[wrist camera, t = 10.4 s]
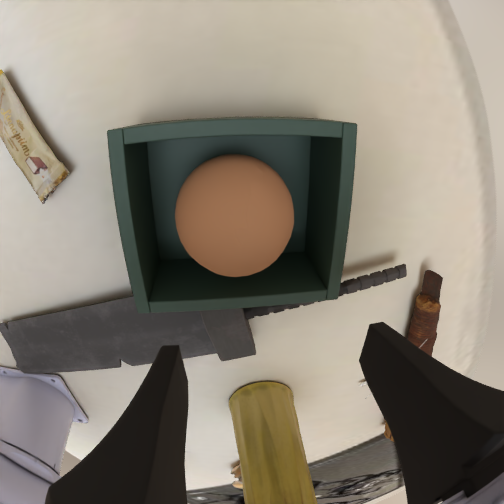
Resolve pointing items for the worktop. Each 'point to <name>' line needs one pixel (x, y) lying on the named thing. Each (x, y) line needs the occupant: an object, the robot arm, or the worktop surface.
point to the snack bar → (28, 144)
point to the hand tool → (424, 318)
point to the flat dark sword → (143, 332)
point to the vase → (270, 446)
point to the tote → (210, 146)
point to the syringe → (366, 382)
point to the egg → (234, 215)
